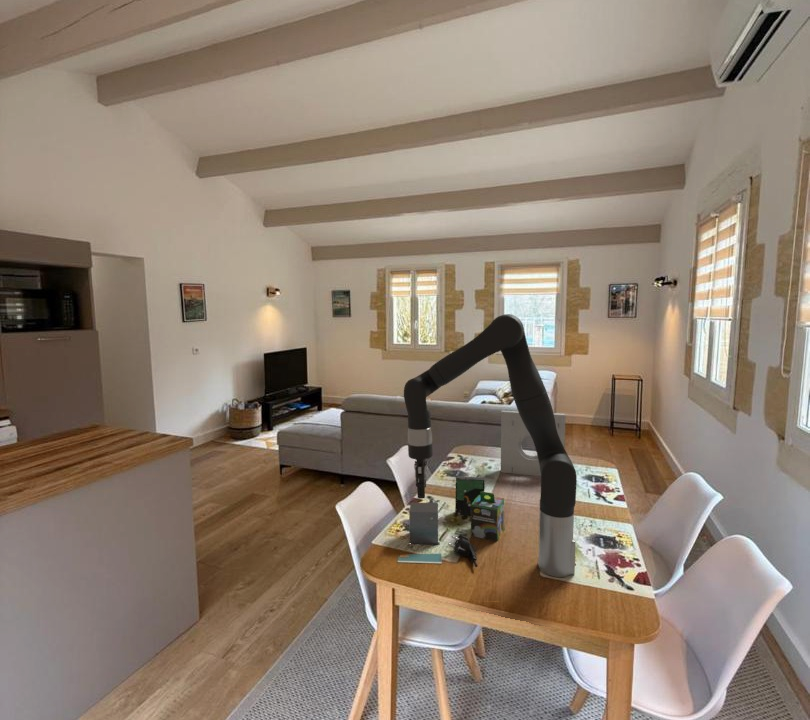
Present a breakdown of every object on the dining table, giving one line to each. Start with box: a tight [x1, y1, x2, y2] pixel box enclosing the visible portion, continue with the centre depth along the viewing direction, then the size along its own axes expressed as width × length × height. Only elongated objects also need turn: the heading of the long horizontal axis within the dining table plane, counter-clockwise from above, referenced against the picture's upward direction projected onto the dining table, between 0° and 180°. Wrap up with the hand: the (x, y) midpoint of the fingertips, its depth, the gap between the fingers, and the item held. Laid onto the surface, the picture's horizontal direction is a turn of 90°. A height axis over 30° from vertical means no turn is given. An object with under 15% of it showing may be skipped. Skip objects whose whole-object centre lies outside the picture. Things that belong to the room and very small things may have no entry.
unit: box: [408, 502, 441, 546], centre depth 142 cm, size 10×8×11 cm
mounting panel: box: [500, 410, 566, 477], centre depth 192 cm, size 27×5×30 cm, turn 73°
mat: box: [397, 553, 443, 565], centre depth 133 cm, size 13×9×1 cm
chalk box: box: [470, 491, 505, 542], centre depth 145 cm, size 9×9×15 cm
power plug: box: [447, 534, 478, 568], centre depth 130 cm, size 6×8×12 cm
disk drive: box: [454, 475, 486, 517], centre depth 157 cm, size 10×3×15 cm, turn 78°
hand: (422, 492), depth 136 cm, fingers open, 8 cm apart
